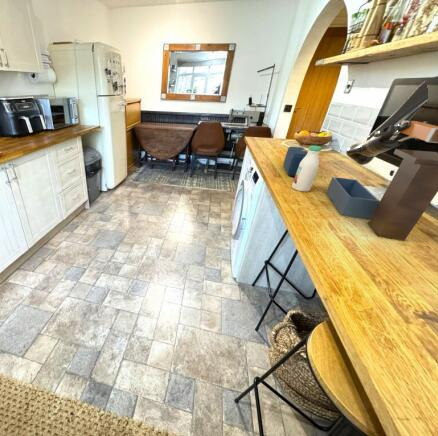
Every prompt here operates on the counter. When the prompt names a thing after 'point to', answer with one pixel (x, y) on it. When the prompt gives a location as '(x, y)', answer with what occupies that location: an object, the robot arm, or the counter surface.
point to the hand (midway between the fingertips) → (417, 124)
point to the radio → (294, 159)
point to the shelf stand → (406, 195)
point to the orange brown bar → (422, 131)
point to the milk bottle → (307, 170)
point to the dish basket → (352, 198)
